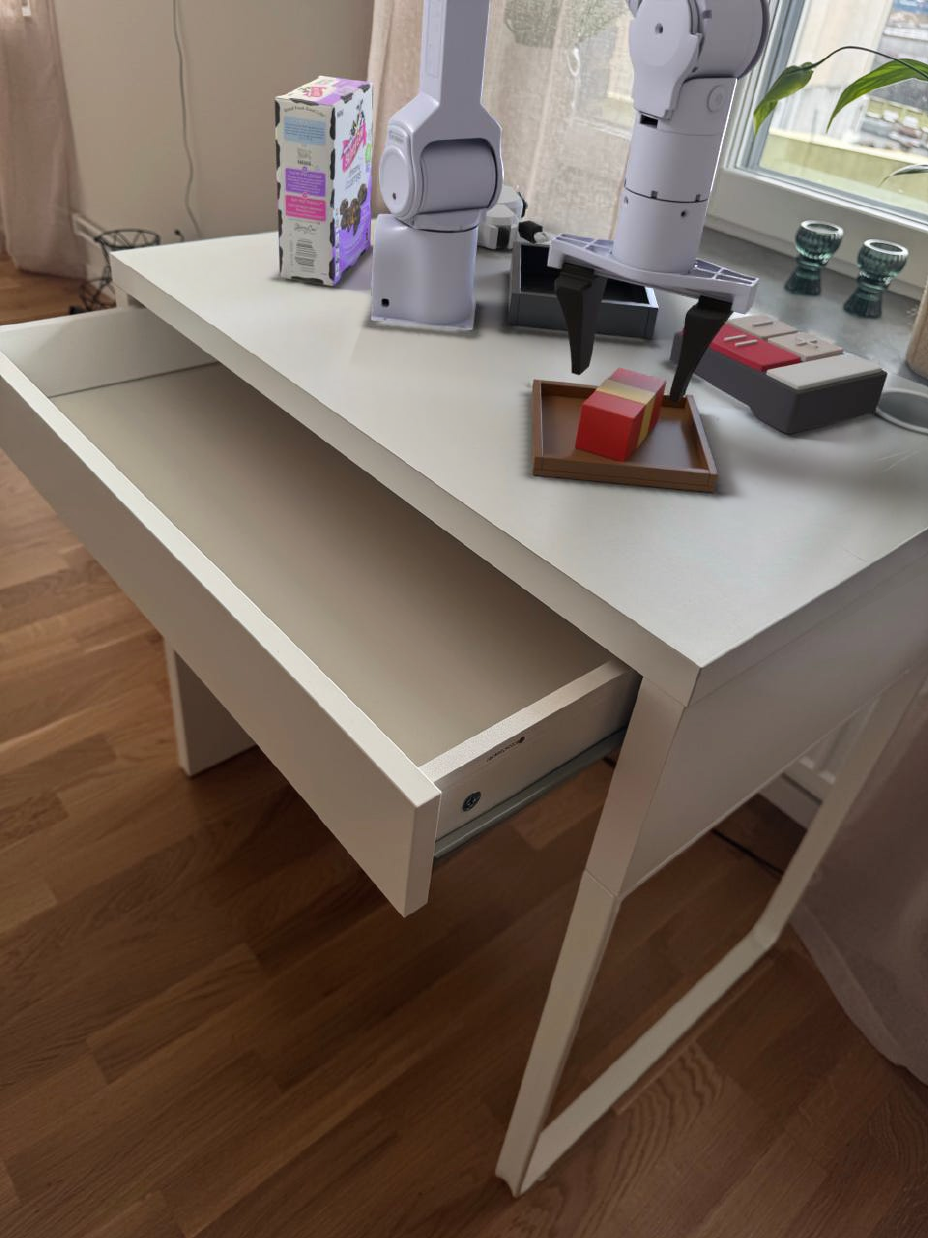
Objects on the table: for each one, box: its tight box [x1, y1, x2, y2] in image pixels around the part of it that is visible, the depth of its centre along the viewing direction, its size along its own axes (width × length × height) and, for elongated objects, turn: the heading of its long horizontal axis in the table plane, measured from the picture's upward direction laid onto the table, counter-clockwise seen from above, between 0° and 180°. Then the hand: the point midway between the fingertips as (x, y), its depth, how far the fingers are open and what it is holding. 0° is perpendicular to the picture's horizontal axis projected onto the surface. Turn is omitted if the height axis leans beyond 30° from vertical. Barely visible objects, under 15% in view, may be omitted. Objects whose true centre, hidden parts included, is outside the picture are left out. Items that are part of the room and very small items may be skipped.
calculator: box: [669, 313, 888, 434], centre depth 84 cm, size 11×4×15 cm
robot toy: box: [477, 184, 552, 250], centre depth 111 cm, size 12×4×15 cm
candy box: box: [274, 75, 374, 287], centre depth 96 cm, size 14×6×16 cm, turn 168°
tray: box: [530, 379, 719, 493], centre depth 74 cm, size 13×13×2 cm
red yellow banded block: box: [575, 367, 668, 462], centre depth 73 cm, size 4×8×4 cm, turn 153°
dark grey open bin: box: [507, 241, 660, 341], centre depth 96 cm, size 14×16×4 cm
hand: (627, 383), depth 72 cm, fingers open, 7 cm apart
